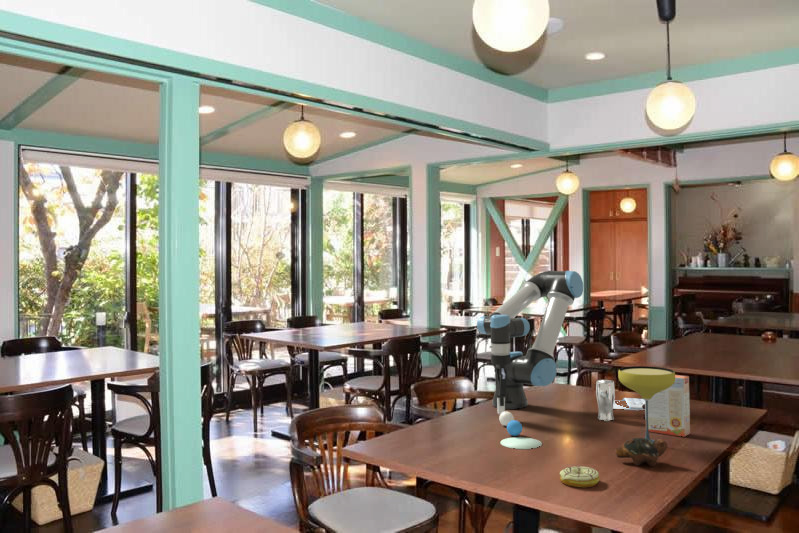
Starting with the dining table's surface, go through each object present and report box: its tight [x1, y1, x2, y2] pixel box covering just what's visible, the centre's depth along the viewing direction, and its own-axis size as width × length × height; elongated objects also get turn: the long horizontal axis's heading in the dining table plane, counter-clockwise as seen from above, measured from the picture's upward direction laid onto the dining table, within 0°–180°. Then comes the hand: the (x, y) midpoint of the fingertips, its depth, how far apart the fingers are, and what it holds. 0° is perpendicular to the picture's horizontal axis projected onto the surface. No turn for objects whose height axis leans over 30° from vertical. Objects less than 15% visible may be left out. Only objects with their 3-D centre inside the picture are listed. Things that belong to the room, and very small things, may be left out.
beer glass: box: [595, 379, 616, 422], centre depth 255 cm, size 7×7×15 cm
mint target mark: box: [500, 436, 543, 450], centre depth 224 cm, size 14×14×1 cm
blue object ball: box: [506, 419, 523, 437], centre depth 234 cm, size 6×6×6 cm
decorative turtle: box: [614, 437, 668, 468], centre depth 200 cm, size 10×15×8 cm, turn 80°
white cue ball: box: [498, 410, 515, 427], centre depth 248 cm, size 6×6×6 cm
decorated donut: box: [559, 465, 600, 489], centre depth 184 cm, size 10×11×4 cm
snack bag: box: [613, 397, 645, 411], centre depth 279 cm, size 19×20×2 cm
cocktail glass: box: [617, 365, 676, 443], centre depth 220 cm, size 18×18×25 cm
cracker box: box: [644, 374, 691, 438], centre depth 234 cm, size 14×6×21 cm, turn 47°
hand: (501, 413), depth 258 cm, fingers closed
